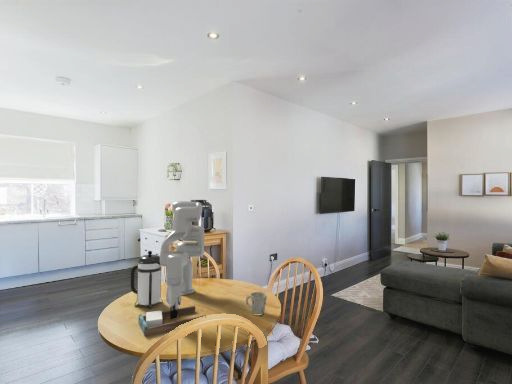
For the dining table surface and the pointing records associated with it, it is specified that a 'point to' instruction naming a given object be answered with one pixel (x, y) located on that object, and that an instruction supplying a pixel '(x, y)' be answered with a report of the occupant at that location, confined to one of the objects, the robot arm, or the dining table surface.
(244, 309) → the dining table surface
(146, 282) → the coffee press
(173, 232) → the robot arm
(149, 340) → the dining table surface
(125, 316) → the dining table surface
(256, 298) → the mug
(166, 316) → the bay
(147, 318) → the silver block
